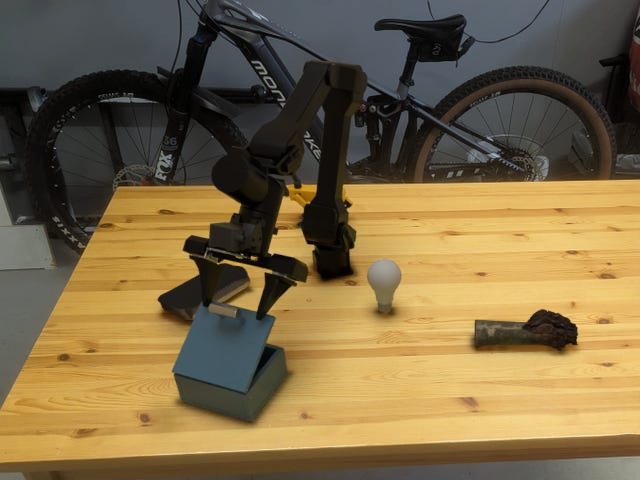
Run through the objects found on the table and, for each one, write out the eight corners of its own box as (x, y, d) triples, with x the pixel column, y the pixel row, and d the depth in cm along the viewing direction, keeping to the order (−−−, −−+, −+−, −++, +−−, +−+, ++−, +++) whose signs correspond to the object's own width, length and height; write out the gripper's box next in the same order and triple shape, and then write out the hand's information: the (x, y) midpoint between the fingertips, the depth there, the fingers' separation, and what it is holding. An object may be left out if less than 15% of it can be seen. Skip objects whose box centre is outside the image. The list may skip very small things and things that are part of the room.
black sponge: (187, 329, 118) (183, 312, 116) (158, 311, 122) (153, 295, 119) (256, 287, 128) (253, 271, 126) (226, 272, 132) (223, 256, 130)
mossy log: (474, 351, 115) (476, 326, 111) (473, 327, 120) (475, 302, 116) (576, 355, 114) (582, 329, 110) (571, 331, 119) (576, 306, 116)
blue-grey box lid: (205, 300, 104) (191, 287, 100) (276, 317, 101) (265, 305, 97) (173, 373, 101) (157, 363, 96) (246, 393, 97) (233, 385, 93)
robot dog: (275, 212, 150) (268, 157, 142) (353, 218, 149) (351, 162, 141) (268, 225, 146) (260, 168, 138) (348, 231, 145) (345, 174, 136)
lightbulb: (405, 305, 124) (406, 255, 117) (394, 324, 120) (394, 274, 113) (375, 299, 126) (374, 249, 119) (363, 317, 121) (361, 267, 114)
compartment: (221, 356, 113) (215, 329, 109) (288, 374, 109) (284, 347, 106) (181, 401, 104) (173, 374, 100) (251, 422, 101) (245, 395, 97)
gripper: (175, 186, 96) (146, 290, 95) (291, 209, 91) (261, 319, 90) (216, 210, 106) (190, 303, 106) (321, 231, 102) (294, 330, 101)
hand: (231, 313), depth 100 cm, fingers open, 9 cm apart
